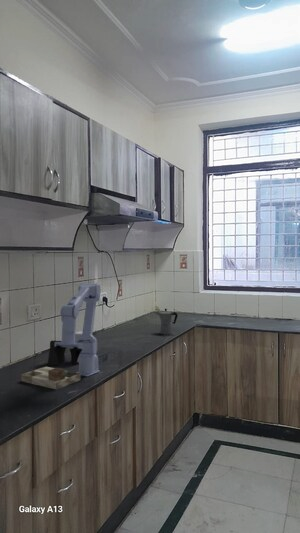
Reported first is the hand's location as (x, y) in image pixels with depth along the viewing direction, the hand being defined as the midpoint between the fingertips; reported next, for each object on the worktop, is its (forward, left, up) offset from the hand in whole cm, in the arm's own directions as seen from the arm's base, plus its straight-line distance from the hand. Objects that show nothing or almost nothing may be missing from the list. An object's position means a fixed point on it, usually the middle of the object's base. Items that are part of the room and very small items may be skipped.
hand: (67, 364), depth 172 cm
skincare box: (-37, -25, -11) cm, 46 cm away
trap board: (-4, -14, -11) cm, 18 cm away
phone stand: (-27, -33, -11) cm, 44 cm away
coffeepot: (-124, -20, -11) cm, 126 cm away
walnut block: (0, -7, -8) cm, 10 cm away
